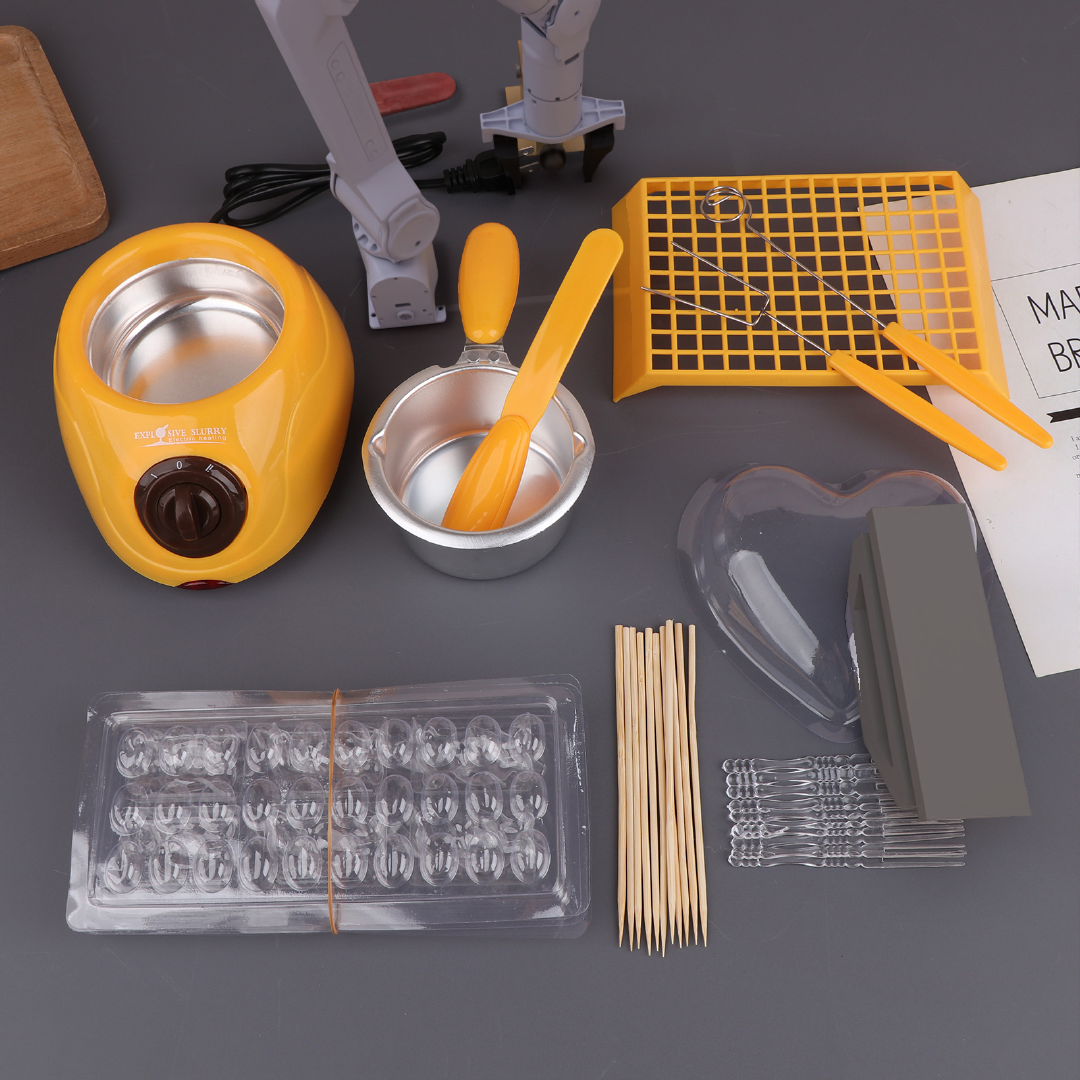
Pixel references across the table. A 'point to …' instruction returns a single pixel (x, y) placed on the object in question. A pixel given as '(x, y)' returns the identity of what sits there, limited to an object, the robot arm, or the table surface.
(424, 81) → the popsicle
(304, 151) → the table surface
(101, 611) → the table surface
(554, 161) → the knife lever
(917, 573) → the grey stepped block
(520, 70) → the wooden lever stand
